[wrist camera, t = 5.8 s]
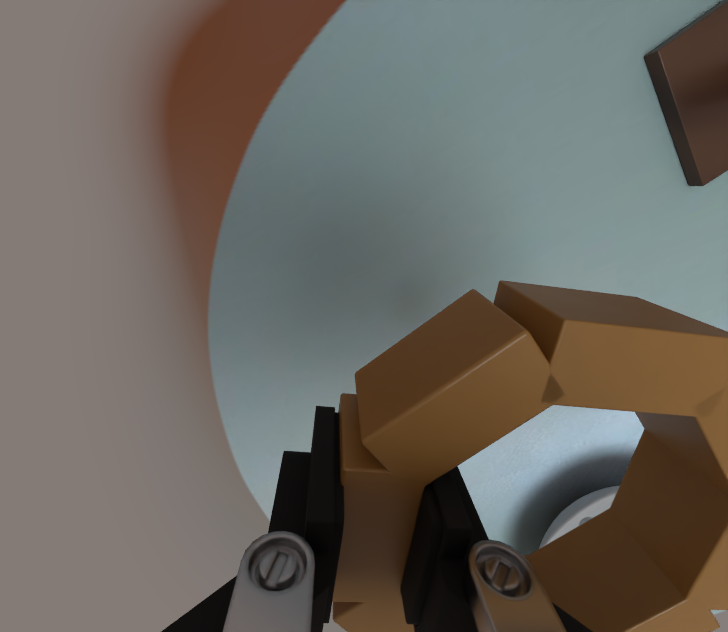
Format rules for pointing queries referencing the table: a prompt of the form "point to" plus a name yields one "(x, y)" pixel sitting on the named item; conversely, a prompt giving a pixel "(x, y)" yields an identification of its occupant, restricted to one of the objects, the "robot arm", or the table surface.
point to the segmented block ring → (515, 407)
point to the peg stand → (696, 93)
